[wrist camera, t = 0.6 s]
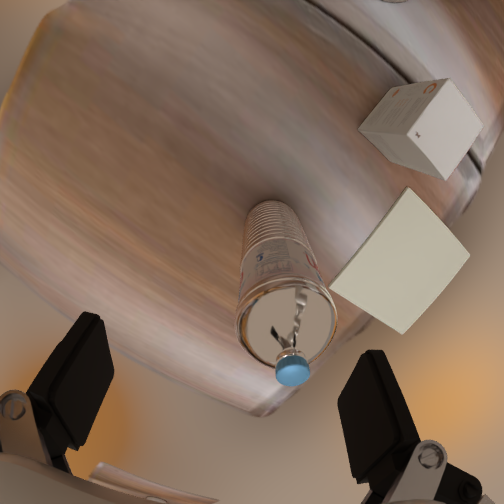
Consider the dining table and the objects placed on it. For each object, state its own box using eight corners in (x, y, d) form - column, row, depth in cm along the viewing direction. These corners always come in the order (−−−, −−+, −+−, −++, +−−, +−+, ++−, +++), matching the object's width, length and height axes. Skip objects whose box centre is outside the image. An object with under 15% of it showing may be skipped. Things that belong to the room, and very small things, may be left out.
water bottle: (249, 193, 36) (239, 319, 13) (303, 203, 37) (373, 334, 14) (240, 244, 39) (223, 405, 16) (291, 252, 39) (329, 412, 17)
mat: (406, 186, 35) (408, 187, 35) (468, 253, 39) (470, 255, 38) (327, 285, 41) (328, 288, 41) (401, 332, 45) (402, 334, 45)
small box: (390, 162, 34) (446, 184, 22) (355, 129, 32) (404, 134, 21) (423, 120, 31) (486, 126, 19) (391, 86, 30) (449, 75, 18)
